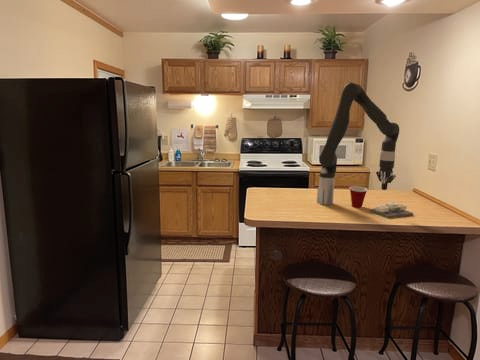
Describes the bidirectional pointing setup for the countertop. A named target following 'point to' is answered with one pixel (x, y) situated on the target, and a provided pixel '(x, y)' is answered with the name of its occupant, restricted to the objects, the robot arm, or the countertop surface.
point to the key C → (402, 207)
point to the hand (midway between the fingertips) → (384, 189)
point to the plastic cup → (357, 195)
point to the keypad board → (392, 213)
